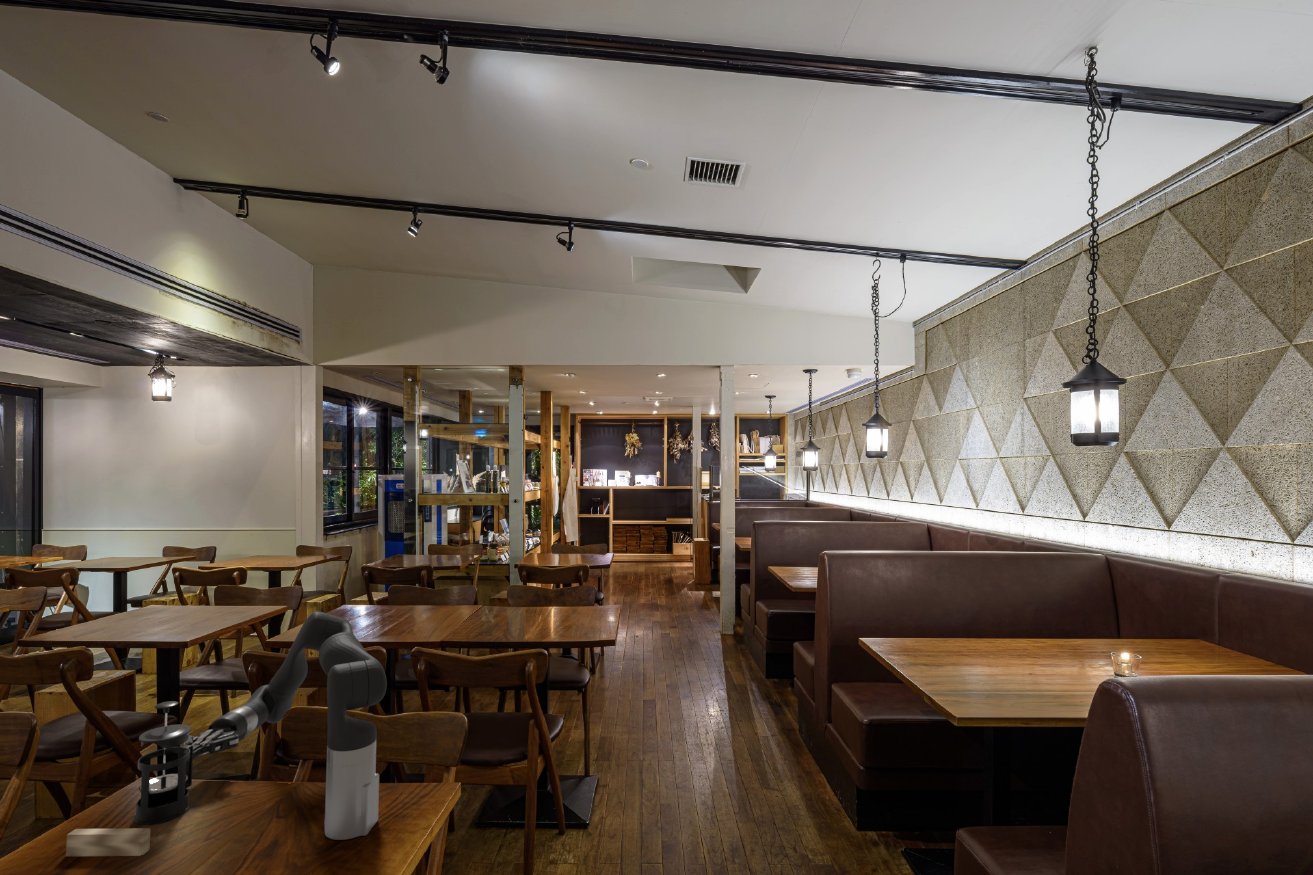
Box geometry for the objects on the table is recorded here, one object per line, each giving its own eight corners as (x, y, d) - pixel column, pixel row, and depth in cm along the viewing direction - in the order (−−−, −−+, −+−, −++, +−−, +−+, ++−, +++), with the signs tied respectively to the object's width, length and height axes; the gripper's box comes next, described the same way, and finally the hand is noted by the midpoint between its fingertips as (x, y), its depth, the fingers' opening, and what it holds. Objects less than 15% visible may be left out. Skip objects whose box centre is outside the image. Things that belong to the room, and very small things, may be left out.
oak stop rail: (149, 849, 127) (150, 828, 127) (141, 855, 125) (142, 833, 125) (74, 850, 127) (75, 828, 127) (65, 856, 125) (66, 834, 125)
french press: (159, 828, 134) (163, 713, 136) (119, 824, 136) (123, 710, 137) (206, 800, 146) (210, 694, 147) (169, 796, 148) (173, 691, 149)
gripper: (206, 711, 165) (156, 739, 147) (260, 711, 165) (216, 739, 148) (205, 742, 164) (154, 774, 147) (259, 742, 165) (215, 773, 147)
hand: (186, 756), depth 148 cm, fingers closed
